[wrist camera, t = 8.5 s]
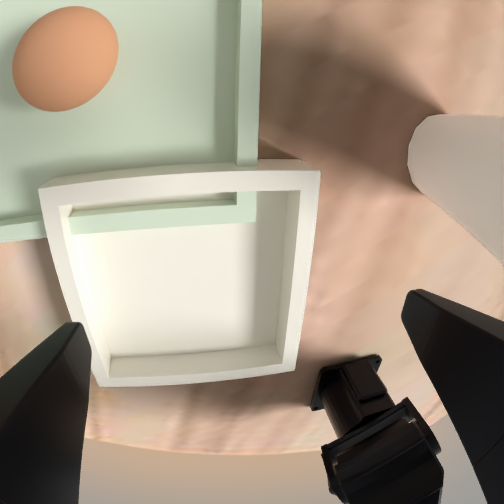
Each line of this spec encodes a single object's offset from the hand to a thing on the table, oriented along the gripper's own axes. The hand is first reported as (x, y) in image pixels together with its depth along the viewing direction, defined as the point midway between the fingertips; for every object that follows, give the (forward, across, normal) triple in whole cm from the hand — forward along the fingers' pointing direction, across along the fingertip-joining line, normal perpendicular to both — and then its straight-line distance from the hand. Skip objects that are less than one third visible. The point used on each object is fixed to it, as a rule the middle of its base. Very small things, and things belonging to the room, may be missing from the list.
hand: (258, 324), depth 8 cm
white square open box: (+11, +2, +5) cm, 13 cm away
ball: (+8, +7, -8) cm, 13 cm away
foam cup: (+12, -16, -3) cm, 20 cm away
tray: (+11, +7, -8) cm, 15 cm away
